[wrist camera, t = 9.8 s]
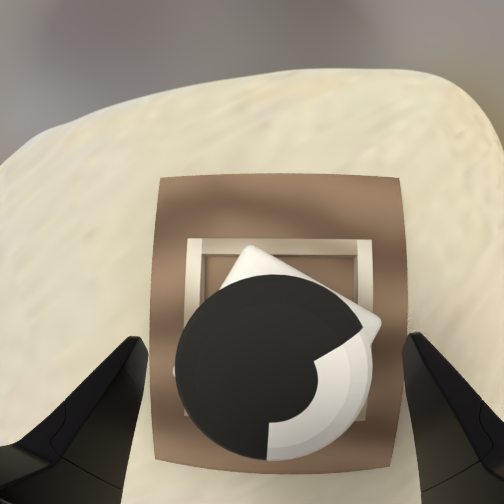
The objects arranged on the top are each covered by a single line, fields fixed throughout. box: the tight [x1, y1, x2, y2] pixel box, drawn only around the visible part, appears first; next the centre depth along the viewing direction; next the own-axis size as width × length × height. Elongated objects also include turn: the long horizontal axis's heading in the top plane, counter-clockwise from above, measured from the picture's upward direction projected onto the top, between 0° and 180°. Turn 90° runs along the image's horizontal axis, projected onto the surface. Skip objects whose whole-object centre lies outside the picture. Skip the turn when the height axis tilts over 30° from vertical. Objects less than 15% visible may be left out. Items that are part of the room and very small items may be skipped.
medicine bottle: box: [173, 245, 382, 461], centre depth 14 cm, size 7×7×12 cm
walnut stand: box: [150, 173, 408, 474], centre depth 20 cm, size 22×18×2 cm
